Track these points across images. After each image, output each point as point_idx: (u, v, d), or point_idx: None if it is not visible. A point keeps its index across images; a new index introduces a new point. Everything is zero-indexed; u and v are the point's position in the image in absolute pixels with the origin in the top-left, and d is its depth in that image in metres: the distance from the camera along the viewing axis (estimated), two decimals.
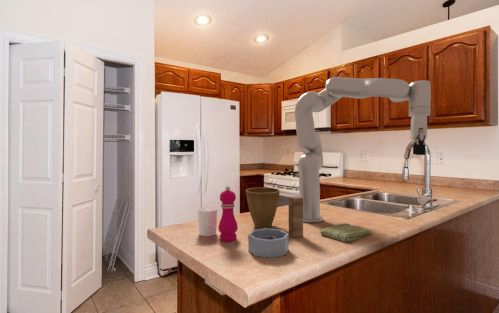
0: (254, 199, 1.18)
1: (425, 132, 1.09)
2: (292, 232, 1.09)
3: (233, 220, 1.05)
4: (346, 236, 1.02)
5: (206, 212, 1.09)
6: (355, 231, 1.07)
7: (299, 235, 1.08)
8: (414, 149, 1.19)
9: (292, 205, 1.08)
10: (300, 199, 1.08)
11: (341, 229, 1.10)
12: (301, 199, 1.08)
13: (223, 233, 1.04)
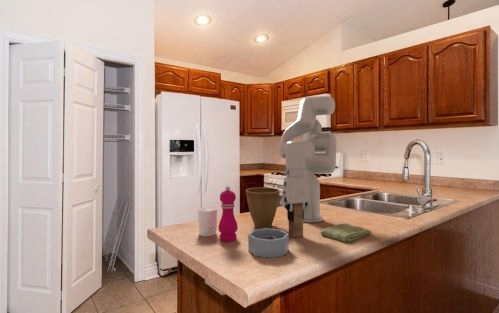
0: (254, 199, 1.18)
1: None
2: (292, 232, 1.08)
3: (233, 220, 1.05)
4: (346, 236, 1.02)
5: (206, 212, 1.09)
6: (355, 231, 1.06)
7: (299, 235, 1.08)
8: None
9: None
10: None
11: (341, 229, 1.09)
12: None
13: (223, 233, 1.04)
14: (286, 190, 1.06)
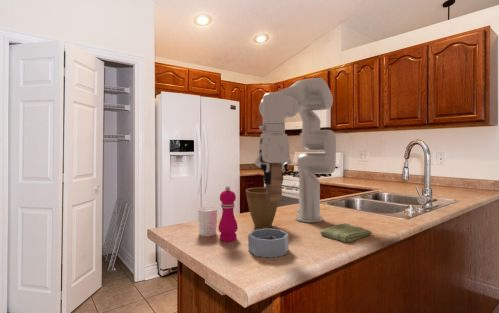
0: (254, 199, 1.18)
1: None
2: (269, 197, 0.95)
3: (233, 220, 1.05)
4: (346, 236, 1.02)
5: (206, 212, 1.09)
6: (355, 231, 1.06)
7: (277, 200, 0.95)
8: None
9: None
10: None
11: (341, 229, 1.09)
12: None
13: (223, 233, 1.04)
14: (262, 147, 0.93)
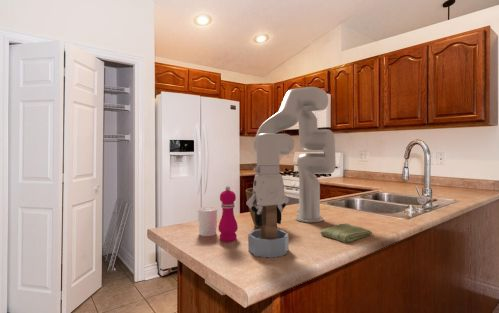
0: None
1: None
2: None
3: (233, 220, 1.05)
4: (346, 236, 1.01)
5: (206, 212, 1.09)
6: (355, 231, 1.06)
7: None
8: None
9: (264, 212, 0.93)
10: None
11: (341, 229, 1.09)
12: (274, 205, 0.93)
13: (223, 233, 1.04)
14: (256, 190, 0.91)
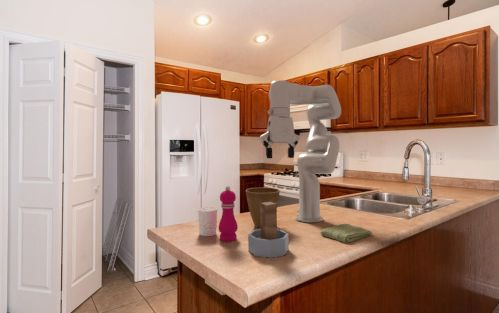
0: (253, 199, 1.18)
1: None
2: None
3: (233, 220, 1.05)
4: (346, 237, 1.01)
5: (206, 212, 1.09)
6: (356, 232, 1.06)
7: None
8: None
9: (264, 213, 0.92)
10: (273, 205, 0.93)
11: (341, 229, 1.09)
12: (274, 205, 0.93)
13: (223, 233, 1.04)
14: (270, 129, 1.06)
